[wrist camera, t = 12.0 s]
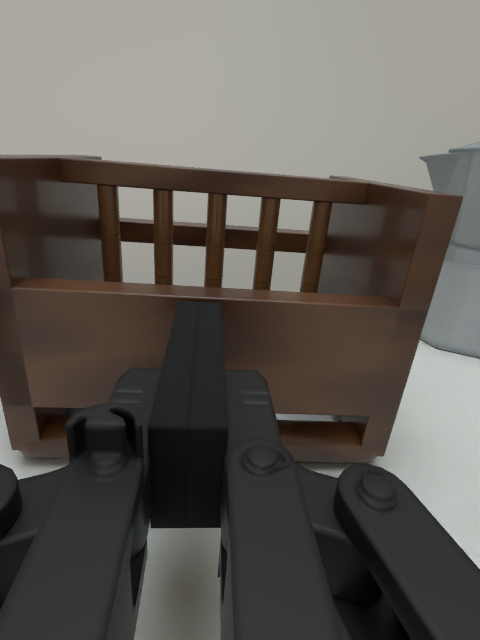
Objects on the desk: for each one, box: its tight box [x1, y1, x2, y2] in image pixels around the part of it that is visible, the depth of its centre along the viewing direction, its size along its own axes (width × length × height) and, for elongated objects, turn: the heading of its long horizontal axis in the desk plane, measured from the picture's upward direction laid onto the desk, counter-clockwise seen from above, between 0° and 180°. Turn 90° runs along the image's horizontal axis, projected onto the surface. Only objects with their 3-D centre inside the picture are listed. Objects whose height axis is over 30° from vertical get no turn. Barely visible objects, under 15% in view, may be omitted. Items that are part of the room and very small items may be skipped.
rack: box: [0, 155, 463, 463], centre depth 19 cm, size 16×12×12 cm
